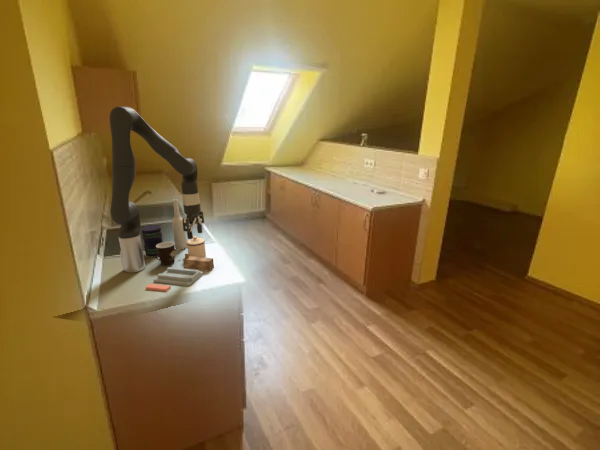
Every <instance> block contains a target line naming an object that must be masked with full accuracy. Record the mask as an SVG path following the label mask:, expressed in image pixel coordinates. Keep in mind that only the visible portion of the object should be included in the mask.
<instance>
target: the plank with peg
mask: <svg viewBox="0 0 600 450" xmlns="http://www.w3.org/2000/svg"><path fill="white" fill-rule="evenodd" d="M182 261H183V269H192V270H199V271H207V272H208V271H209V272H210V271H211V270H213V269H214V268H215V263H214V258H212V257H211V258H210V257H205V258H203V257H193V256H189V254H188V253H185V254H184V257H183V259H182Z"/></svg>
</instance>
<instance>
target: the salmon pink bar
mask: <svg viewBox="0 0 600 450" xmlns="http://www.w3.org/2000/svg"><path fill="white" fill-rule="evenodd" d="M171 289H172V287H171V285H167V284H166V285H165V284H157V283H156V284H155V283H149V284H148V285H146V286H145V290H151V291H160V292H168V291H169V290H171Z"/></svg>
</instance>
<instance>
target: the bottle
mask: <svg viewBox="0 0 600 450" xmlns="http://www.w3.org/2000/svg"><path fill="white" fill-rule="evenodd" d="M172 203H173V211H174V213H173V214H174V217H173V219H172V220H171V225H172V232H173V233H172V234H173V240H174V241H173V243H174V247H175V248H176V249H183V250H185V249H184V248H186V249H187V246H186V244H187V241H188V238H187V231H183V221H182V219H183V218H182V216H181V214H180V208H179V199H176V198H175V199H172ZM176 249H175V250H176Z"/></svg>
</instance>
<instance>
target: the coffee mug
mask: <svg viewBox="0 0 600 450" xmlns="http://www.w3.org/2000/svg"><path fill="white" fill-rule="evenodd" d="M156 248H157V253H158V255H159V256H157V253H156V255H155V257H154V258H155V259H156V260H157V261H159V262H160V265H161V266H164V267H170V266H171V265H172V266H173V265H174V264H175V263H176V262H175V259H176V258H175V251H176V249H175V243H174V241H163V243H159V244H157V245H156ZM174 262H175V263H174Z"/></svg>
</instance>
